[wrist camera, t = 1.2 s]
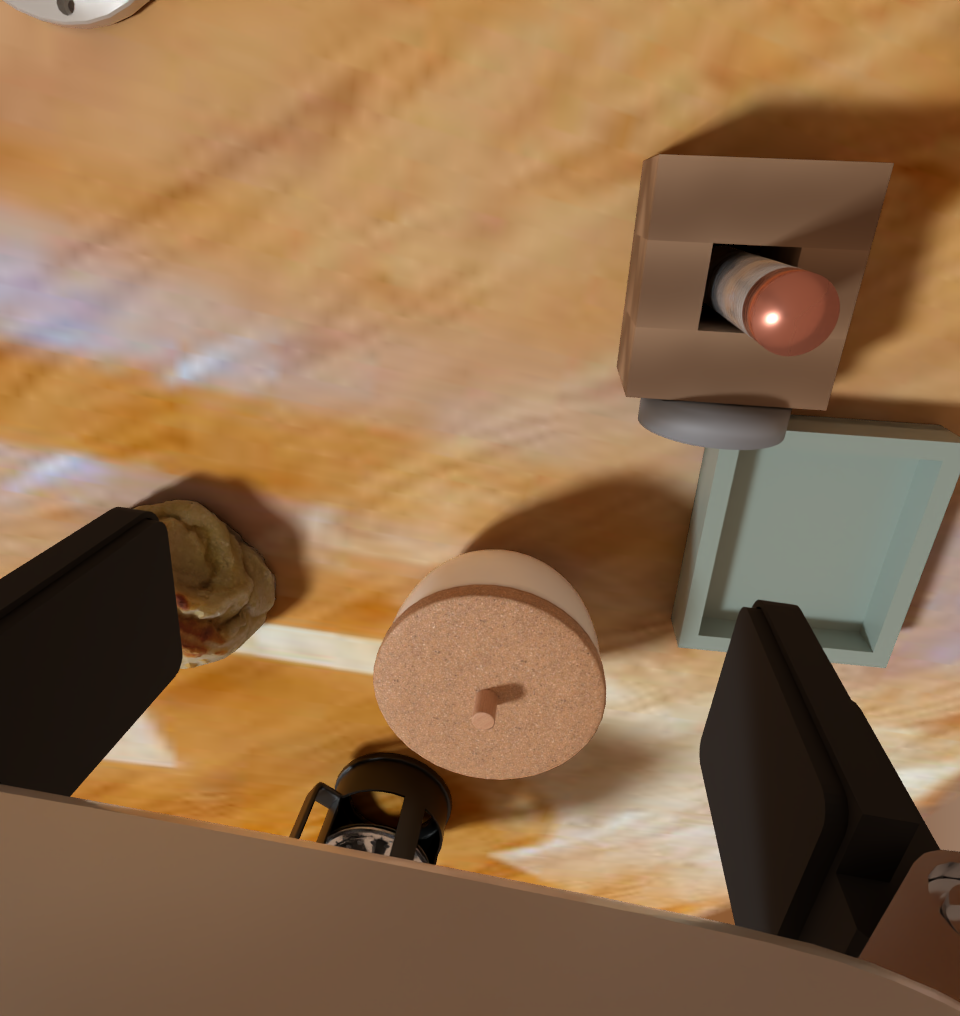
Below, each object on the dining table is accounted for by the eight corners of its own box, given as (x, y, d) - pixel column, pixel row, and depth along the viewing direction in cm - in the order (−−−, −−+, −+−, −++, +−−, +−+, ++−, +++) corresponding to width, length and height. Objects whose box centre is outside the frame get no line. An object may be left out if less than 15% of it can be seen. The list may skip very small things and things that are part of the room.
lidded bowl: (638, 613, 43) (661, 739, 33) (496, 706, 48) (479, 841, 38) (506, 477, 40) (487, 570, 30) (369, 591, 44) (313, 704, 35)
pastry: (301, 540, 44) (249, 608, 36) (249, 670, 49) (195, 752, 42) (98, 446, 42) (3, 497, 35) (67, 590, 48) (-21, 661, 40)
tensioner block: (643, 161, 32) (664, 151, 25) (837, 168, 31) (912, 161, 24) (611, 407, 37) (622, 454, 31) (776, 418, 36) (824, 469, 30)
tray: (712, 409, 37) (724, 426, 34) (940, 425, 36) (971, 443, 33) (671, 618, 43) (678, 647, 40) (865, 637, 42) (885, 668, 39)
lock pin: (695, 244, 33) (762, 269, 22) (752, 247, 33) (850, 273, 22) (685, 301, 34) (744, 353, 23) (740, 305, 34) (827, 358, 23)
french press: (482, 799, 52) (428, 1202, 31) (416, 858, 55) (329, 1251, 35) (356, 721, 50) (209, 1096, 29) (297, 787, 53) (130, 1161, 33)
